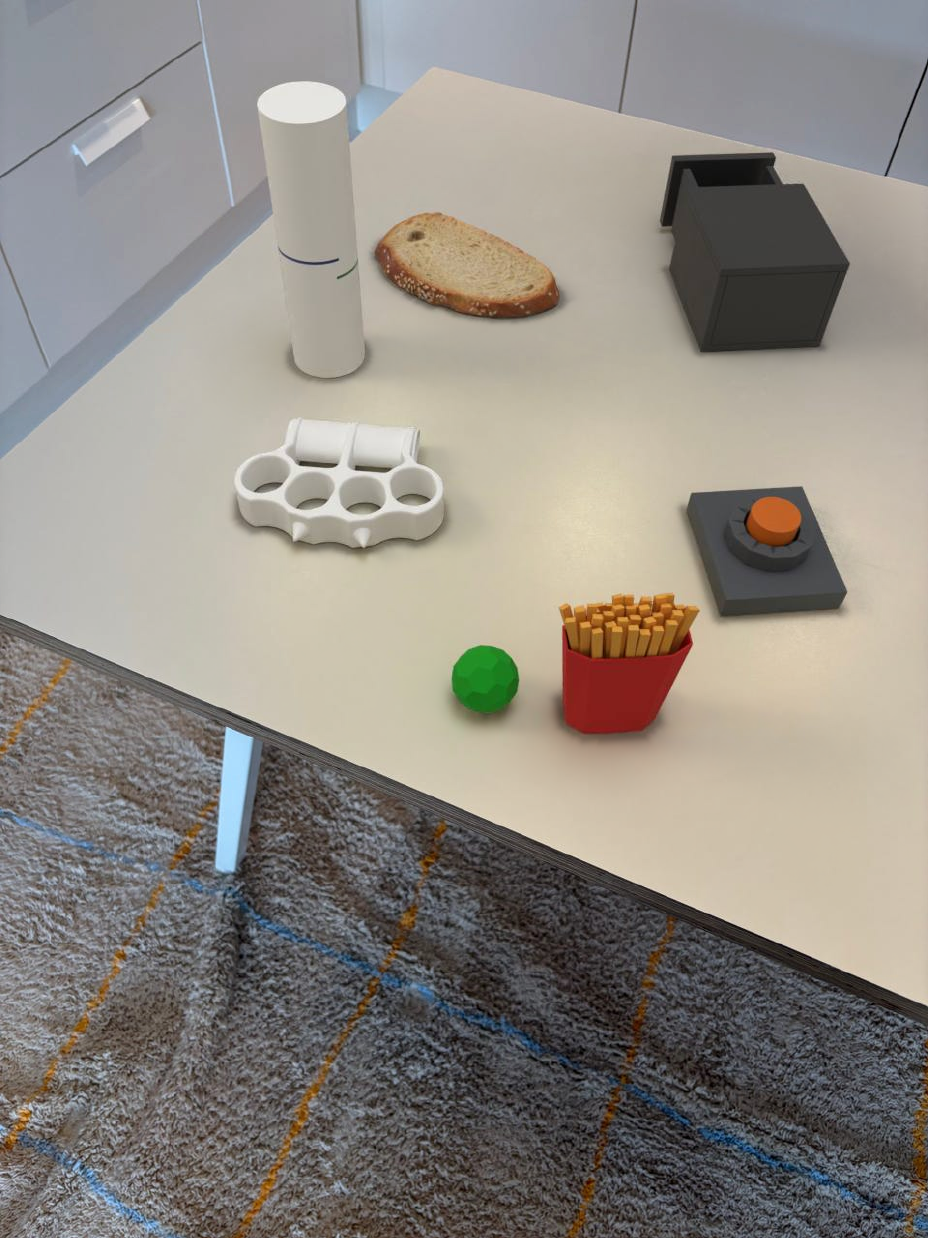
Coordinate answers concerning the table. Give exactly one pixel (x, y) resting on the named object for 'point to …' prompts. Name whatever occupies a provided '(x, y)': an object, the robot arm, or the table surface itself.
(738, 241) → the dark grey paneled cube
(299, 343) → the cylindrical container
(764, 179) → the drawer
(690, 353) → the table surface
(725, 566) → the control block
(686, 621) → the french fries
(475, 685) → the polyhedron
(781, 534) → the button
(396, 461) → the knuckle duster
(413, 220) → the bread slice
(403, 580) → the table surface
